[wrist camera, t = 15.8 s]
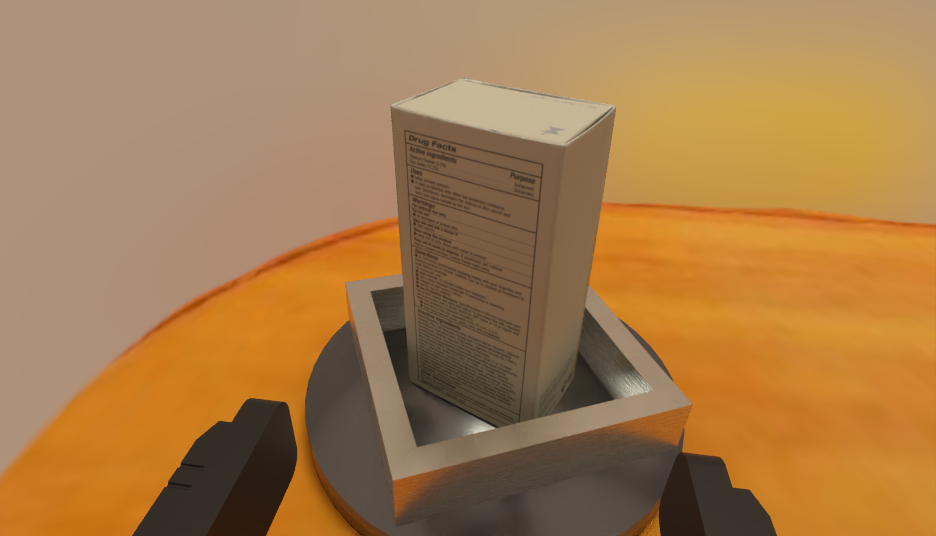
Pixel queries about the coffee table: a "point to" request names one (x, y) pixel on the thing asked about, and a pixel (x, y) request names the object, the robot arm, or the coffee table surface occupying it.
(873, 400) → the coffee table surface
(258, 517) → the robot arm
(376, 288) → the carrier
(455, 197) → the skincare box
